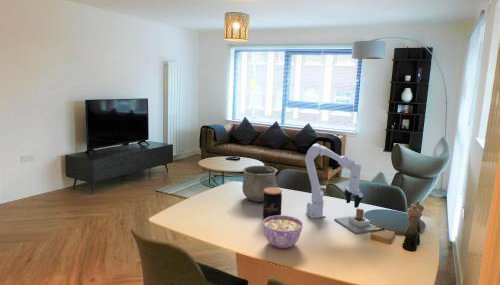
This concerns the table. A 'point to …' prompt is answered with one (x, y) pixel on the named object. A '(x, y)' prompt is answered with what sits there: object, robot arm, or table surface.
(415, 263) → the table surface
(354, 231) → the grey flat piece
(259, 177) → the pot
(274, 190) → the coffee jar
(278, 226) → the bowl of food
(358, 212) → the walnut peg
